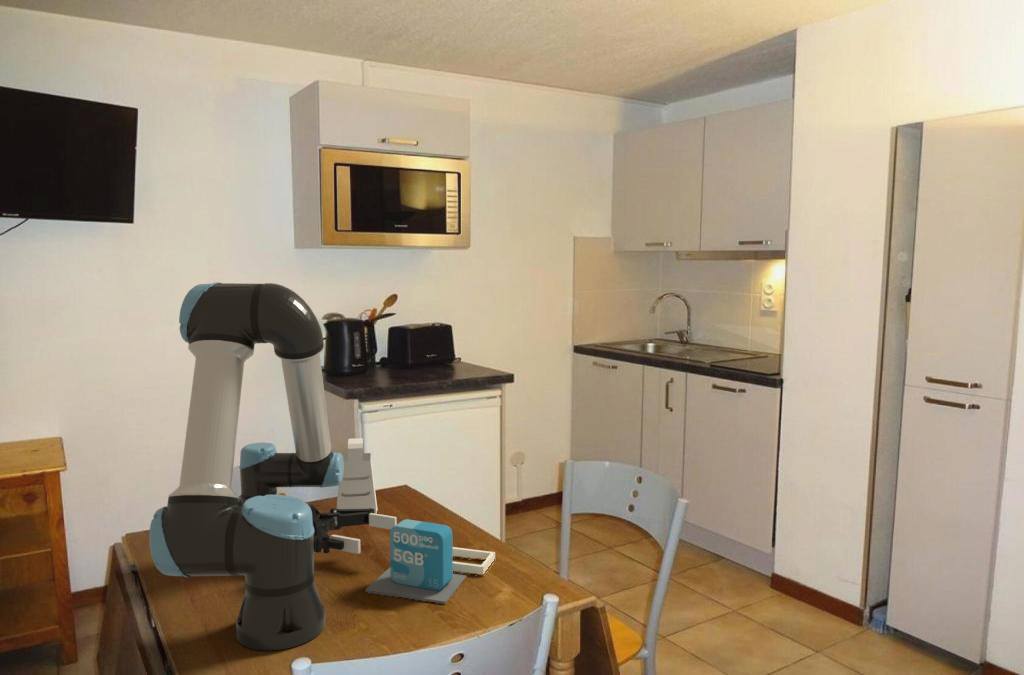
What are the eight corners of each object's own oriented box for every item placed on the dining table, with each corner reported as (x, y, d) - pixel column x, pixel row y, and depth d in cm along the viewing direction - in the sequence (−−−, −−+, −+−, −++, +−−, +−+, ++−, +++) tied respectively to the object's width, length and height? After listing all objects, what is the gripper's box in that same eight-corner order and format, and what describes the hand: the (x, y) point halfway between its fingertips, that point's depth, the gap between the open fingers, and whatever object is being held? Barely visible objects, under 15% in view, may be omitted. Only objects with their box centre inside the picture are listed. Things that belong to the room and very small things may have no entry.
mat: (445, 604, 136) (445, 601, 136) (365, 592, 141) (365, 589, 141) (466, 578, 147) (466, 575, 147) (391, 568, 152) (391, 565, 152)
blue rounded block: (390, 582, 144) (389, 525, 143) (401, 573, 148) (400, 517, 147) (443, 592, 140) (442, 533, 138) (453, 583, 144) (452, 525, 143)
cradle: (483, 576, 148) (483, 567, 148) (416, 567, 153) (416, 558, 152) (495, 560, 156) (495, 552, 156) (431, 552, 160) (431, 544, 160)
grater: (335, 525, 177) (333, 447, 175) (336, 511, 187) (335, 437, 185) (377, 522, 179) (376, 445, 177) (377, 508, 189) (376, 435, 187)
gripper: (330, 518, 166) (409, 531, 158) (254, 558, 143) (342, 576, 135) (329, 487, 165) (409, 498, 157) (253, 522, 142) (341, 538, 134)
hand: (378, 534), depth 146 cm, fingers open, 13 cm apart
